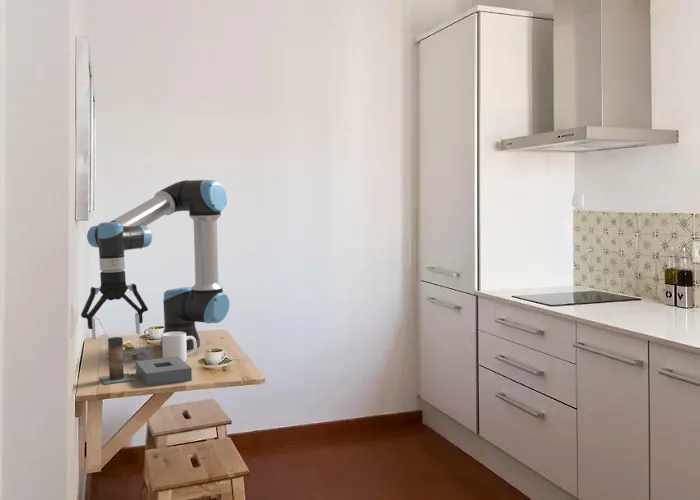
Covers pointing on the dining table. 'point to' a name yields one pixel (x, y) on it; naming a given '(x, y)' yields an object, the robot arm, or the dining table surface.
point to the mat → (107, 381)
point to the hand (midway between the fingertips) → (116, 336)
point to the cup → (177, 345)
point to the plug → (115, 358)
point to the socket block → (163, 371)
